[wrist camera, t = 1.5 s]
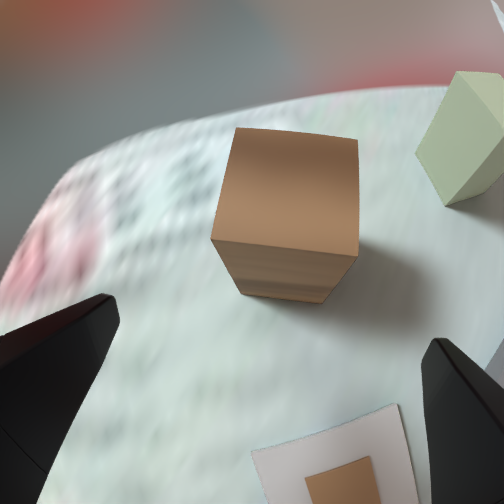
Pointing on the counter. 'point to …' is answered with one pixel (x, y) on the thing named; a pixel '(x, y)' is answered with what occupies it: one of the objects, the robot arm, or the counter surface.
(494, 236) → the counter surface
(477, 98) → the sage block
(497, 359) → the base block
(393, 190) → the counter surface
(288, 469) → the card
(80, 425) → the counter surface
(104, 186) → the counter surface
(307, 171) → the walnut block
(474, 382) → the robot arm
